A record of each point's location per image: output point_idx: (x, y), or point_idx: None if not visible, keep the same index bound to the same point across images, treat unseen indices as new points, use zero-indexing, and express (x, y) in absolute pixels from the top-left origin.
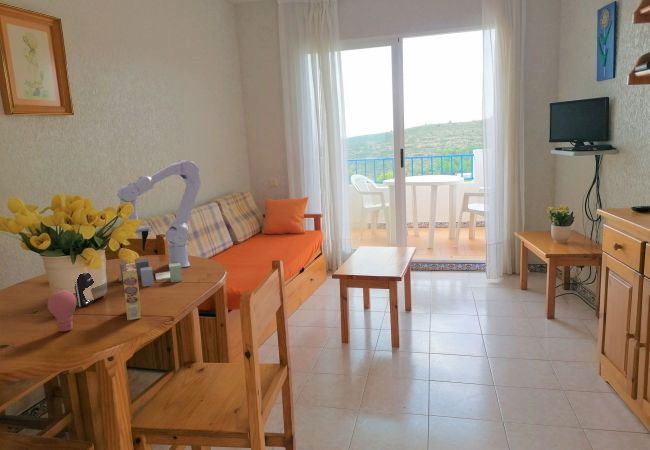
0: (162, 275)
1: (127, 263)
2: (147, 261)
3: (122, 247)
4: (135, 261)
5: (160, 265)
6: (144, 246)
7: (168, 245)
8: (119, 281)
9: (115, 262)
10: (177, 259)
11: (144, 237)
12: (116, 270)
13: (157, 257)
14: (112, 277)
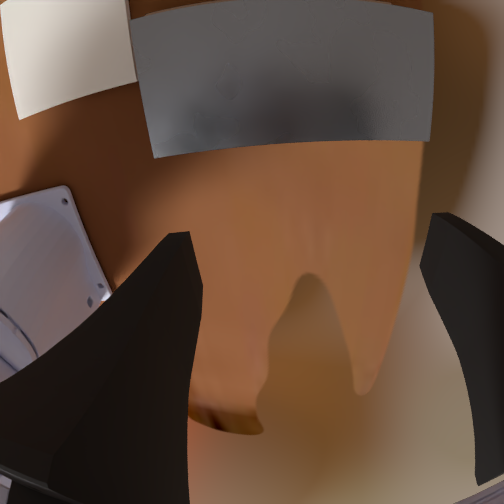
0: (81, 20)
1: (366, 31)
2: (137, 22)
3: (477, 245)
4: (282, 73)
5: None
6: (144, 261)
7: (16, 333)
8: (385, 2)
9: (364, 373)
10: (8, 227)
11: (51, 379)
12: (385, 276)
13: (199, 386)
14: (421, 149)
